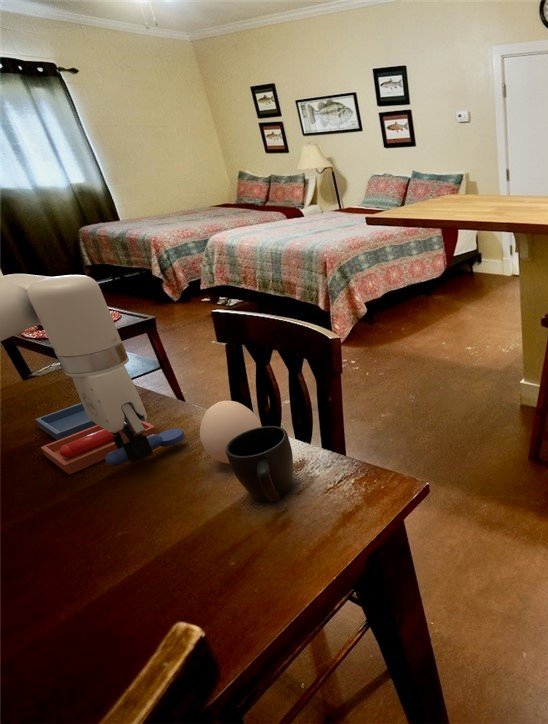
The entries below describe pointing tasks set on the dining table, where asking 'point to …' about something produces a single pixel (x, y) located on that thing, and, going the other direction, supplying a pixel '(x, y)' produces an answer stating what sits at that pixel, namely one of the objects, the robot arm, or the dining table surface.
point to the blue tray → (65, 422)
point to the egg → (225, 427)
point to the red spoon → (86, 443)
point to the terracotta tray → (88, 456)
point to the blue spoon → (155, 441)
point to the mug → (262, 462)
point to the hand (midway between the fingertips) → (137, 454)
